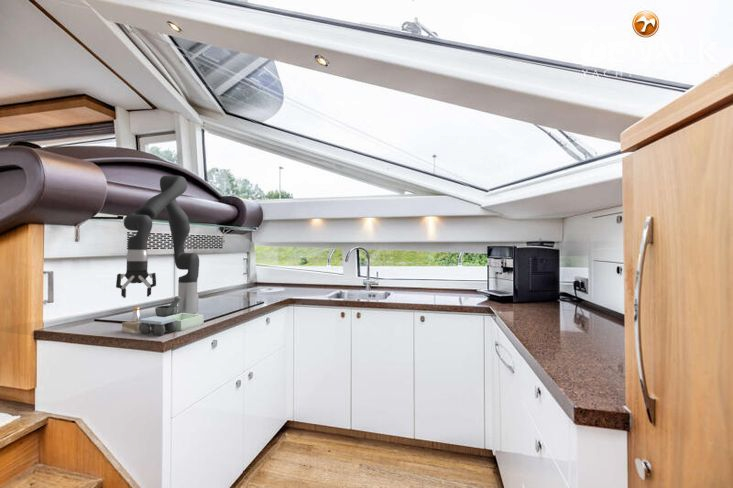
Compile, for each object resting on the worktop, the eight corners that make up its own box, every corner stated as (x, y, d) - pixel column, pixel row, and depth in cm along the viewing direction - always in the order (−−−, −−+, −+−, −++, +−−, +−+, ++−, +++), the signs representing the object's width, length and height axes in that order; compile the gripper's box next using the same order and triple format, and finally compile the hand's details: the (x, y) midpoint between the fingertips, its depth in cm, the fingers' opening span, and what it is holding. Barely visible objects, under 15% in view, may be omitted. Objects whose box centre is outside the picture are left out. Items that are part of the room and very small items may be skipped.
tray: (181, 322, 159) (181, 313, 159) (203, 324, 155) (203, 314, 155) (157, 328, 146) (158, 318, 146) (181, 331, 142) (181, 320, 142)
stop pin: (136, 329, 144) (136, 307, 144) (140, 330, 143) (141, 307, 143) (131, 331, 142) (131, 308, 142) (135, 331, 141) (135, 308, 141)
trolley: (138, 333, 137) (138, 319, 138) (153, 329, 144) (153, 316, 144) (161, 336, 134) (162, 321, 134) (176, 332, 141) (176, 318, 141)
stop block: (137, 327, 147) (137, 319, 147) (149, 329, 145) (149, 320, 145) (122, 331, 140) (122, 322, 140) (134, 333, 138) (134, 323, 138)
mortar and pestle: (151, 323, 155) (152, 298, 156) (158, 319, 164) (158, 295, 164) (178, 322, 159) (178, 297, 159) (183, 318, 168) (183, 294, 168)
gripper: (157, 259, 149) (156, 295, 149) (118, 259, 143) (117, 296, 142) (155, 260, 143) (154, 297, 143) (115, 260, 136) (114, 299, 136)
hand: (136, 296), depth 142 cm, fingers open, 8 cm apart
